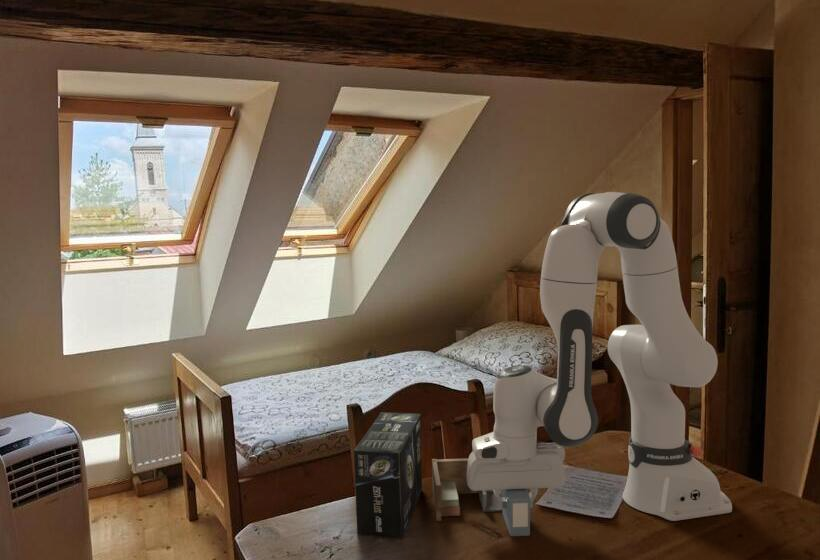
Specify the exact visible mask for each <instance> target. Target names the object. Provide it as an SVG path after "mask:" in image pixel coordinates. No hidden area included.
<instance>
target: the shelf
mask: <svg viewBox="0 0 820 560" xmlns="http://www.w3.org/2000/svg"><path fill="white" fill-rule="evenodd" d="M468 459H469V457H468V458H443V459H442V458H441V459H437V458H431V471H432V473H431V475H432V477H431V478H432V480H431V481H432V483H431V484H432V496H433V505H434V509H435V518H436V521H437V522H441V521H442V517H452V516H453V517H457V516H461V507H460V501H459V494H460V495H461V494H479V490H478V491H472V490H471V489H470V488H469V487H468V484H467V465H468ZM485 491H486V493H494V491H493V490H485Z"/></svg>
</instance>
